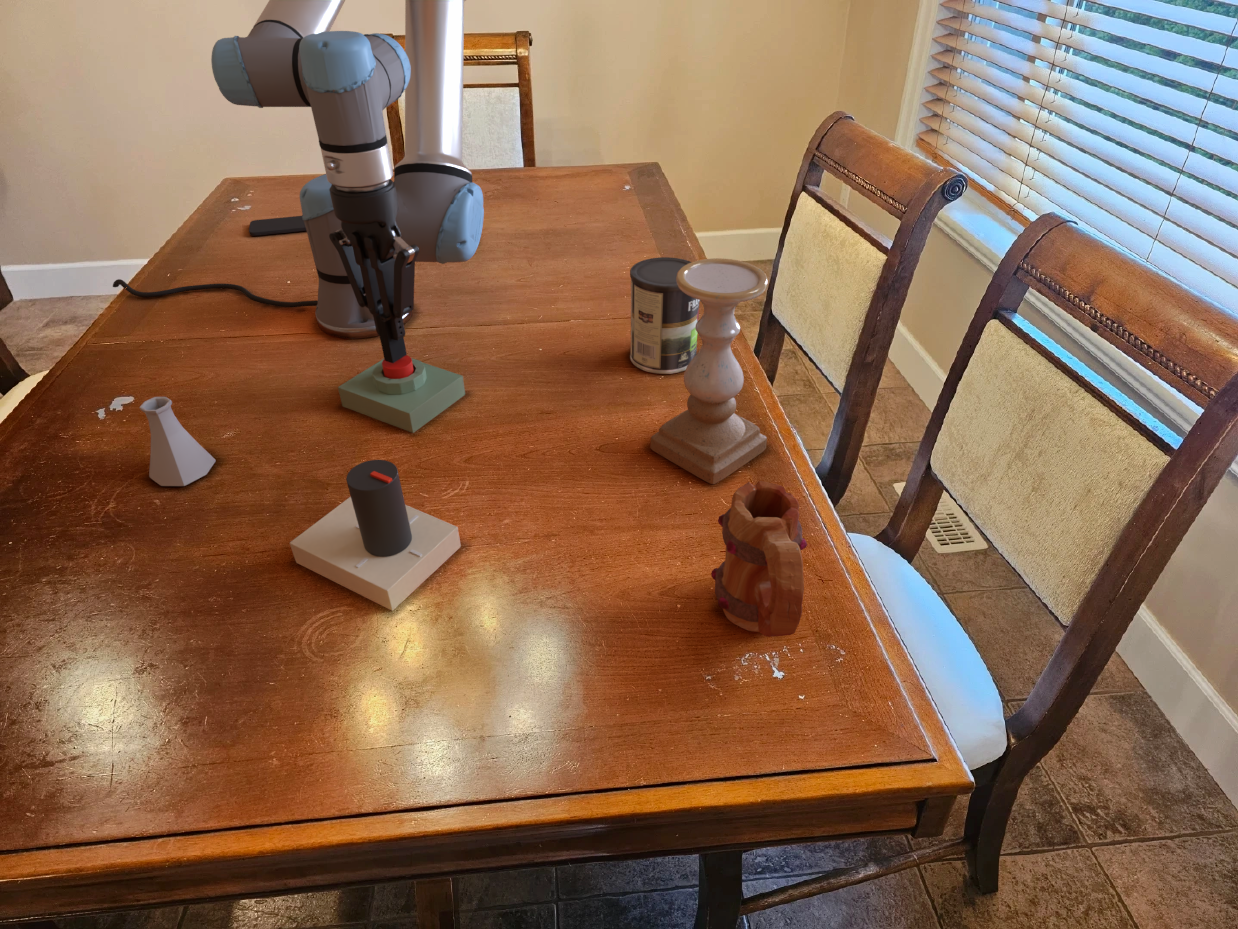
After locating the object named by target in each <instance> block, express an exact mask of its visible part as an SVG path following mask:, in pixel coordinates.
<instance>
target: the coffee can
mask: <svg viewBox="0 0 1238 929" xmlns="http://www.w3.org/2000/svg"><path fill="white" fill-rule="evenodd" d="M691 262H692V261H690V260H687V259H684V258H679V257H668V256H664V257H663V256H661V257H659V256H658V257H652V258H647V259H644V260H640V261H639V262H636V263H635V264H633V265H632V266H631V267H630V269H629V277H630V353H629V359H630V361H631V363H632V365H633V366H634V367H636V368H638V369H640V370H641V371H644V372H647V373H651V374H658V375H672V374H678V373H682V372H685V370H686V368H687V366H688V364H689V363H690V361H691V360H692V359H693V358H694V357H695V355H696V354H697V350H698V349H697V348H698V347H697V346H698V335H699V334H698V333H697V331H696V323H697V322H698V321H699V319H700V318H699V316H700V303H701V301H700V300H698V299H695V298H692V297H690V296H688V295H687V294H685V293H684V292H682V291H681V290H680V288H679V287H678V285H677V282H676V276H677V273H678V271H679V270H680V269H681V268H682V267H683V266H685V265H687V264H689V263H691Z"/></svg>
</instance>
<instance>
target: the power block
mask: <svg viewBox="0 0 1238 929" xmlns="http://www.w3.org/2000/svg"><path fill="white" fill-rule="evenodd" d="M411 359H412V363H413V369H414V372H413V374H411V375H410V376H408V377H405V378H401V379H389V378H386V377H385V375H384V371H383V367H382V361H383V360H384V358H382V359H381V360H379V361H378V362H376V363H375V364H373V365H370V367H367V368H366V369H365V370H363V371H361V372H359V373H358V374H356V375H354V376H353V377H352V378H350V379H348V380H347V381H346V382H344V383H342V384H341V385H338V386H337V390H338V391H337V392H338V394H339V397H340V403H341V406H342V407H343V408H345V409H348V410H351V411H354V412H357V413H358V414H362V415H364V416H367V417H370V418H372V419H374V420H377V421H380V422H383V423H385V424H387V425H391V426H393V427H396V428H398V429H400V430H404V431H406V432H409V433H412V434H414V433H415V432H417V431H418V430H419V429H421V428H422V427H423V426H425V425H426V424H427V423H429V422H430V421H432V420H433V419H434V418H435V417H437V416H439V415H440V414H442V412H444V411H445V410H447V409H448V408H449V407H451V406H452V405H454V404H455V403H456V402H457V401H459V400H460V399H462V398H463V397H464V396H466V390H465V383H464V382H465V381H464V375H462V374H459V373H455V372H453V371H450V370H447V369H444V368H440V367H438V366H436V365H433V364H432V365H431V364H429V363H427V362H423V361H421V360H419V359H416V358H413V357H411Z"/></svg>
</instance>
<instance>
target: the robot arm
mask: <svg viewBox="0 0 1238 929" xmlns="http://www.w3.org/2000/svg"><path fill="white" fill-rule="evenodd" d="M404 1H405V5H404V7H405V8H404V9H405V14H404V16H405V17H404V19H405V20H404V25H405V26H404V48H403V46H401V44H400V43H399V42H398V41H397V40H396V39H394V38H392V37H391V36H389V35H387V34H383V33H377V32H376V33H375V32H374V33H365V34H363V33H362V32H358V31H351V30H332V27H333V25H334V24H335V21H336V20H337V17H338V16H339V14H340V12H341V9H342V8H343V5H344V4H345V2H346V0H268V2H267V3H266V5H265V7H264V8H263V10H262V12H261V13H260V15H259V17H258V18H257V20H256V21H255V23H254V25H253V26H252V28H251V30H250V32H249V33H248V35H247V36H244V37H243V36H242V37H241V36H239V35H234V36H233V37H231V36H230V37H223V38H220V39H217V40H216V42H215V43H214V45H213V47H212V50H211V58H210V59H211V70H212V75H213V77H214V80H215V83H216V85H217V88H218V91H220V93H221V95H222V96H223V97H224V99H226V100H227V101H228V102H229V103H230V104H232V105H235V106H244V107H245V106H246V107H257V108H259V109H263V108H311V112H312V117H313V121H314V126H315V129H316V130H315V131H316V134H317V138H318V145H319V147H320V152H321V157H322V161H323V166H324V171H325V174H321V175H319V176H316V177H315V178H314V177H313V178H312V179H310V180H309V181H307V182H306V183H305V184H304V185H302V187H301V189H300V192H299V204H300V208H301V214H302V215H301V216H302V219H303V220H304V223H305V227H306V231H305V232H306V234H307V238H308V242H309V246H310V249H311V250H310V251H311V253H312V257H313V261H314V265H315V269H316V273H317V277H318V288H317V300H303V301H302V300H301V301H282V300H281V301H280V300H274V299H269V298H265V297H261V296H258V295H255V294H253V293H252V292H250V290H248V289H246V288H245V287H243V286H242V285H238V284H235V283H223V282H221V283H206V284H196V285H185V286H180V287H174V288H173V287H172V288H169V289H168V288H167V289H164V290H158V291H139V290H136V289H134V288H132V286H130V285H129V284H128V283H127V282H126V281H125V280H123V279H120V278H118V279H116V280H115V281H114V282H113V283H112V288H119V286H121V287H122V288H123V289H124V290H126V291H127V292H128V293H130V294H131V295H132V296H135V297H138V298H157V297H159V298H160V297H165V296H169V295H174V294H180V293H185V292H194V291H204V290H217V289H221V290H222V289H223V290H224V289H226V290H235V291H239V292H240V293H242V294H244V296H246V297H247V298H248V299H250V300H252V301H254V302H257V303H261V304H265V305H268V306H274V307H279V308H280V307H281V308H302V307H315V318H316V322H317V326H318V328H319V330H321V331H322V332H323V333H325V334H327V335H328V336H332V337H336V338H340V339H350V340H352V339H353V340H355V339H368V338H374V337H379V340H380V344H381V350H382V354H383V359H384V360H385V361H387V362H390V363H394V362H396V361H398V360H399V359H401V358H402V357H404V356H406V355H407V354H408V353H407V349H406V344H405V338H404V337H405V336H406V330H405V325H406V324H407V323H408V322H409V321H410V320H411V318H412V316H413V311H414V308H415V307H414V306H415V305H414V304H415V300H414V299H415V275H416V274H415V273H416V272H415V271H416V263H439V264H442V265H445V264H448V263H463V262H467V261H469V260H471V259H472V258H473V256H474V255H475V254H476V252H477V250H478V247H479V244H480V243H481V242H480V241H481V237H482V233H483V226H484V217H485V208H484V193H483V190H482V188H481V187H480V185H478V184H476V183H475V182H473V173H472V171H471V170H470V169H469V168H468V167H467V166H466V165H465V163H464V162H463V142H464V140H463V136H464V133H463V132H464V131H463V128H464V126H463V125H464V124H463V123H464V54H465V53H464V51H465V50H464V48H465V47H464V46H465V45H464V44H465V43H464V42H465V39H464V38H465V2H466V1H467V0H404ZM403 93H404V156H403V158H402V159H400V161H399V162H397V163H396V164H395V165H394V168H393V165H392V159H391V155H390V153H391V152H390V148H389V143H388V137H387V132H386V126H385V119H384V113H383V111H384V110H385V109H386V108H387V107H389V106H390V105H392V104H393V103H396V101H398V100H399V99H400V98H401V97H402V96H403ZM392 178H394V179H393V180H392ZM126 287H127V288H126ZM125 288H126V289H125ZM407 356H408V355H407Z"/></svg>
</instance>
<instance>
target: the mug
mask: <svg viewBox="0 0 1238 929" xmlns="http://www.w3.org/2000/svg"><path fill="white" fill-rule="evenodd" d="M799 511H800V503H799V500H798V499H797V498H796V497H794V495H793V494H792V493H790V492H787V490H786V489H785V487H784V486H782V485H780V484H777V483H773V482H768V481H763V480H759V481H757V482H756V484H753V483H751V482H750V481H747V482H746V483H745V484H743V485H742V486H740V487H739V488H737V489H736V490H735V492H734V493H733V495H732V498H731V505H730V508H728V510H727V511H726V512H725V513H722V514H721V515H719V516H718V519H717V523H718V524H719V526H721V528H722V530H721V531H722V532H721V534H722V540H723V543H724V545H725V557H724V561H722V563H721V564H720V565H719V566H718V567H716V568H713V569H712V570H711V573H710V575H711V578H712V579H713V581H714V594H715V597H716V599H717V604H718V606H719V607H720V608H721V609H722V611H723V614H724V616H725V617H726V619H727V620H728V621H729V622H731V623H732V624H734V625H736V626H737V627H739V628H741V629H744V630H746V631H748V632H755V633H760V634H761V635H762V636H764V637H767V638H773V637H783V636H784V637H785V636H791V635H794V634H795V633H796V631H797V629H798V627H799V625H800V621H801V618H802V613H803V600H804V593H805V581H804V560H803V556H802V551H803V550H805V549H806V548H807V546H808V543H807V541H806V539H805V538H804V537H803V527H802V524H801V522H800V520H799V519H800V512H799Z"/></svg>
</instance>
